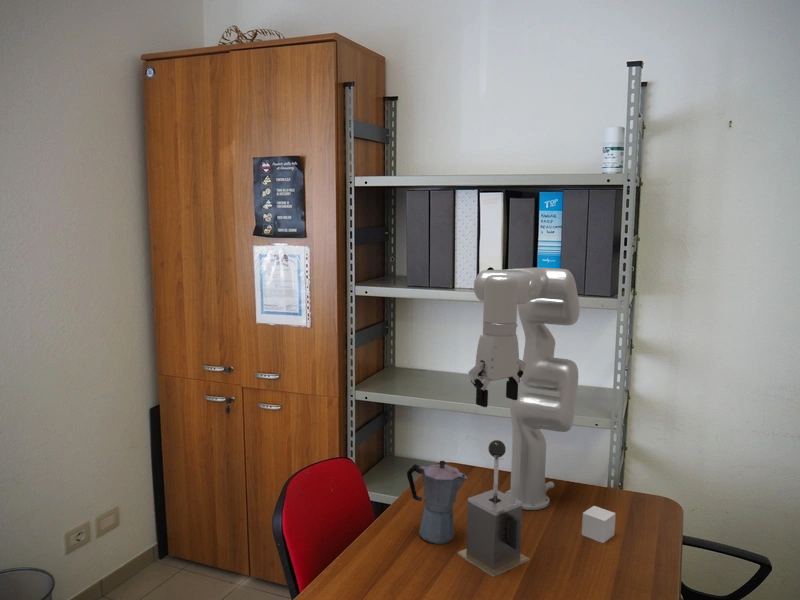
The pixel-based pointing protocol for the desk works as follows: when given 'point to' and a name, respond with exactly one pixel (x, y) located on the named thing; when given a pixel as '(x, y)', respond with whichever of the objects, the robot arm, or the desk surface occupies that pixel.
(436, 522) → the moka pot
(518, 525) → the grey slotted box
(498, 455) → the ball knob lever
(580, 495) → the desk surface
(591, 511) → the white cube
